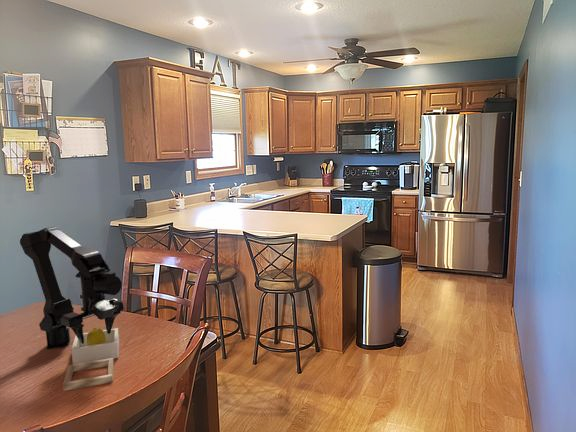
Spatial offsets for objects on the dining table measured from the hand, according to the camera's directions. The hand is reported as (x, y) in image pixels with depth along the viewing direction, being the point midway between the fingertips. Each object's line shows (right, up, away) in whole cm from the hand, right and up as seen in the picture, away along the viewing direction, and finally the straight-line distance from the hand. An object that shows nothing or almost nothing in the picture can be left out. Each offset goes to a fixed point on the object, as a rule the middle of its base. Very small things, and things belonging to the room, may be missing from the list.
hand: (95, 338), depth 144 cm
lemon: (0, -5, +1) cm, 5 cm away
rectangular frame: (+5, -7, -15) cm, 17 cm away
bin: (0, -5, +1) cm, 5 cm away
